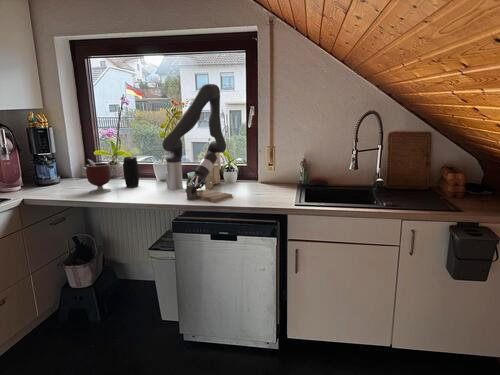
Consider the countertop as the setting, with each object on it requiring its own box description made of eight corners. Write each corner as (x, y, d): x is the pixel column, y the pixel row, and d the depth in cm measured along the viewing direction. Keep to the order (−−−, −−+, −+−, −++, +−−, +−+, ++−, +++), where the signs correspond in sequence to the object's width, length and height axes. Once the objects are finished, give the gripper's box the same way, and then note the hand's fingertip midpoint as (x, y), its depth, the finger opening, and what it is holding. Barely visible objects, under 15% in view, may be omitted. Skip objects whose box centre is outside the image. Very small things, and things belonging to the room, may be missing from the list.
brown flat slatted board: (187, 196, 207) (187, 193, 207) (205, 192, 218) (205, 189, 217) (215, 202, 194) (215, 199, 193) (232, 197, 204) (232, 194, 204)
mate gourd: (117, 190, 226) (114, 159, 222) (98, 195, 214) (95, 162, 210) (100, 188, 233) (97, 157, 229) (81, 192, 222) (78, 160, 217)
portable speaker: (125, 185, 240) (123, 156, 236) (140, 184, 242) (138, 156, 238) (124, 188, 232) (121, 158, 228) (139, 187, 234) (137, 157, 230)
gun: (209, 190, 224) (209, 166, 222) (204, 189, 225) (203, 166, 223) (220, 185, 248) (220, 163, 246) (215, 185, 249) (215, 163, 247)
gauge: (186, 199, 201) (186, 185, 199) (199, 196, 209) (199, 182, 207) (191, 200, 199) (191, 186, 197) (204, 197, 206) (204, 183, 205)
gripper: (192, 163, 207) (176, 187, 201) (209, 165, 199) (194, 190, 192) (199, 171, 213) (184, 194, 206) (216, 173, 204) (201, 198, 197)
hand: (189, 192), depth 199 cm, fingers closed on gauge, 4 cm apart
